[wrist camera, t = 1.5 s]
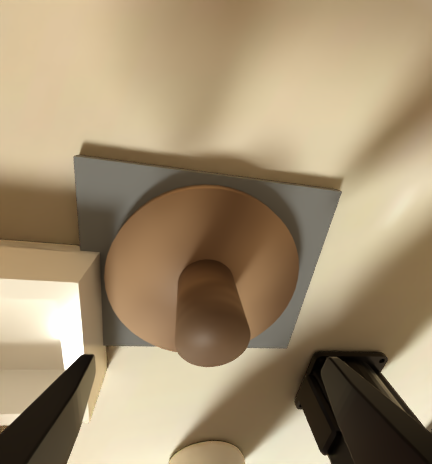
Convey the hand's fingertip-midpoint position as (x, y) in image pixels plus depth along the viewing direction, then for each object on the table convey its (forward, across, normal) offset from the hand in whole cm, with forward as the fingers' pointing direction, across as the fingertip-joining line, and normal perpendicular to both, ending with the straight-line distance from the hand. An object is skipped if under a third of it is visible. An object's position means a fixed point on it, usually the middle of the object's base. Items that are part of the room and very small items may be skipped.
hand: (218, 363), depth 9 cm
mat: (+7, 0, 0) cm, 7 cm away
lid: (+6, 0, 0) cm, 6 cm away
